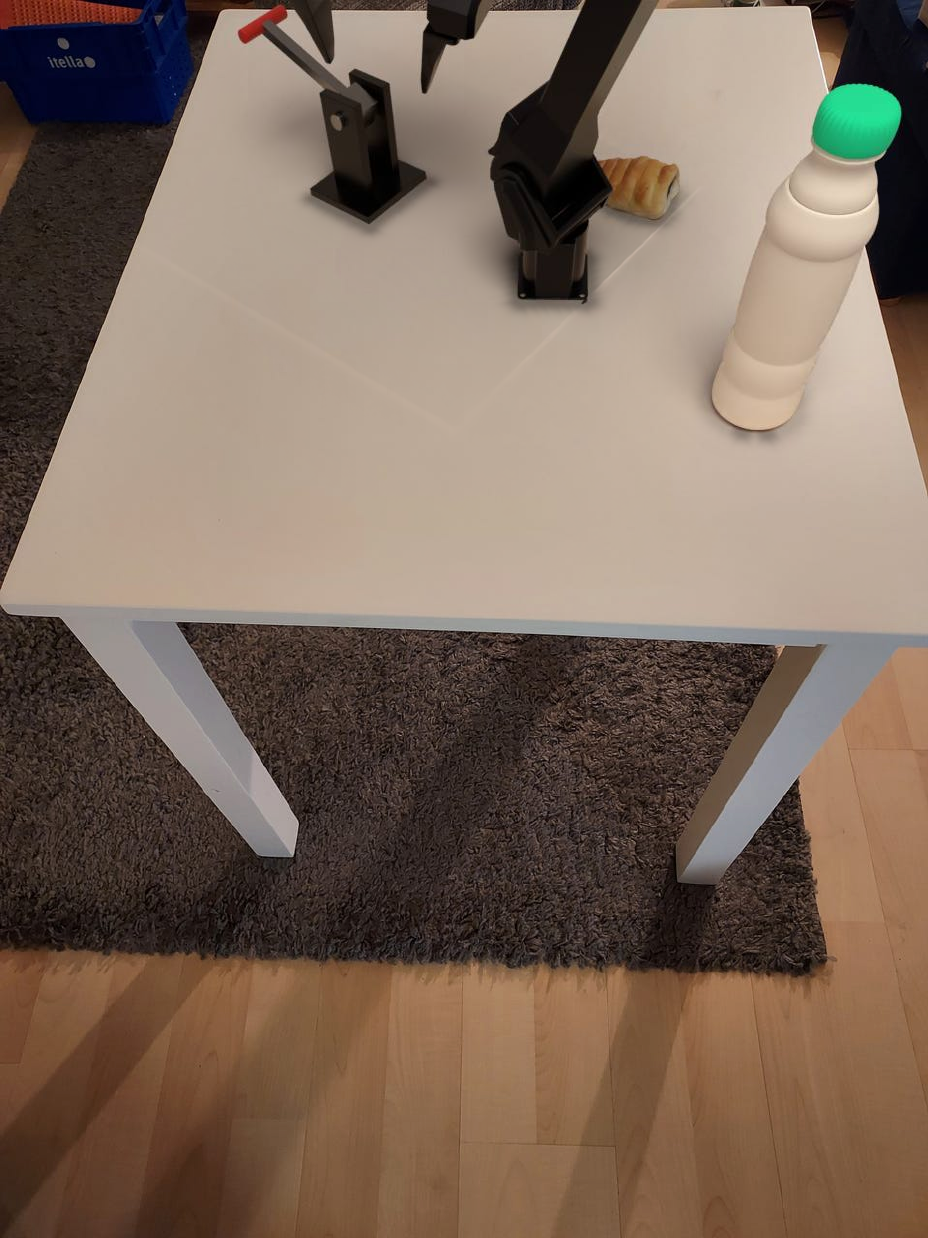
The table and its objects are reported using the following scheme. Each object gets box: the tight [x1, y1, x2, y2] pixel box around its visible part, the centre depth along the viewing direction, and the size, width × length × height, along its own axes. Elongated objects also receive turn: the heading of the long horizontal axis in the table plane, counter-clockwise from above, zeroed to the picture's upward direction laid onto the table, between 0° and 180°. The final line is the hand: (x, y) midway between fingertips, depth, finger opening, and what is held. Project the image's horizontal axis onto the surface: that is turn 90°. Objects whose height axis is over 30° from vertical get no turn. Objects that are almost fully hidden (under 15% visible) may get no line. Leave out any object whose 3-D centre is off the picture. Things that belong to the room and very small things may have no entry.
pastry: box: [598, 155, 681, 220], centre depth 83 cm, size 9×7×4 cm
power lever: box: [237, 4, 377, 128], centre depth 79 cm, size 14×6×2 cm, turn 52°
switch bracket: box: [309, 68, 427, 225], centre depth 82 cm, size 8×9×10 cm
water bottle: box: [711, 83, 902, 431], centre depth 60 cm, size 7×7×25 cm
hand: (377, 75), depth 75 cm, fingers open, 9 cm apart
